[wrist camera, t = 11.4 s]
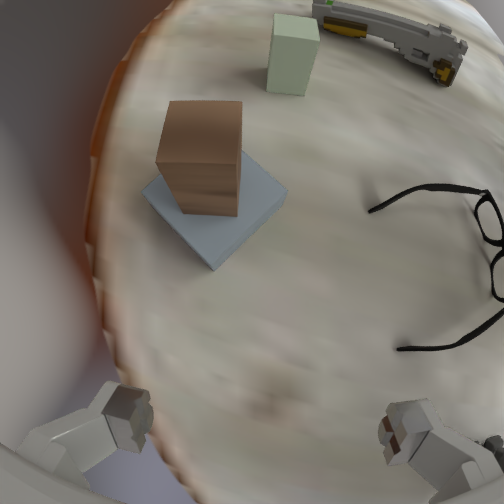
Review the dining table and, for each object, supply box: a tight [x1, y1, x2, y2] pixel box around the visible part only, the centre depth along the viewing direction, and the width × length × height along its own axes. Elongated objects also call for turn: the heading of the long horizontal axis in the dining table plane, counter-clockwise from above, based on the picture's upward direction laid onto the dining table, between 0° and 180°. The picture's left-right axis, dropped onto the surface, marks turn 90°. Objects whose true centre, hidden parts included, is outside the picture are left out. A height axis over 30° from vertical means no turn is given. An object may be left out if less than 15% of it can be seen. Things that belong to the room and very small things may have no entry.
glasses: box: [368, 184, 504, 351], centre depth 27 cm, size 17×18×5 cm
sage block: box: [266, 13, 320, 96], centre depth 28 cm, size 4×4×9 cm
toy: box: [312, 0, 468, 87], centre depth 32 cm, size 6×24×10 cm, turn 71°
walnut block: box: [155, 101, 242, 217], centre depth 20 cm, size 4×4×9 cm
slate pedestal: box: [141, 151, 288, 271], centre depth 27 cm, size 9×9×4 cm
